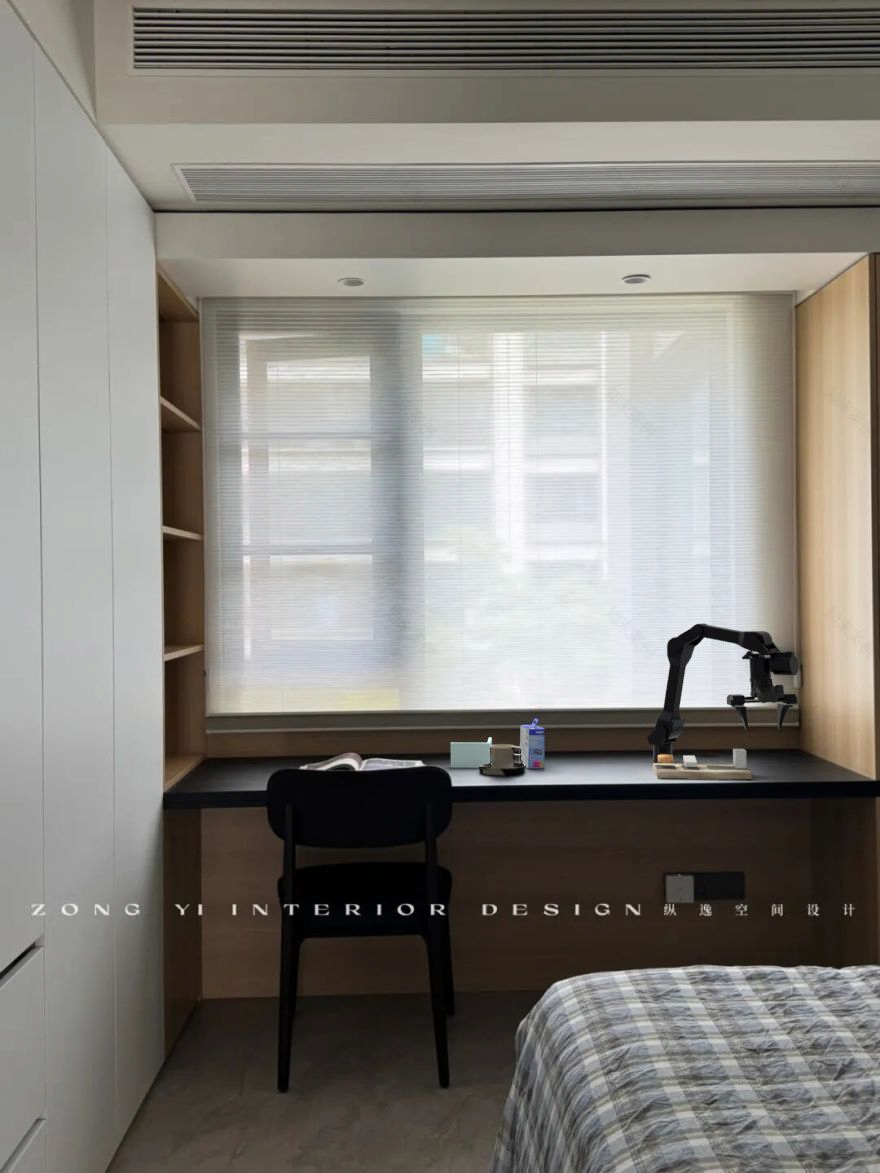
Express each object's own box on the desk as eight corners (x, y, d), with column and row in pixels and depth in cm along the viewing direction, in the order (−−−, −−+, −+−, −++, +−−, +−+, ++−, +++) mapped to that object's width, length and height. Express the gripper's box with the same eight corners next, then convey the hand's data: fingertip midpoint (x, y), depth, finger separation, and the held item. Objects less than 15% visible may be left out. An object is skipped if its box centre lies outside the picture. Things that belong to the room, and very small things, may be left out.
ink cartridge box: (545, 768, 294) (545, 720, 294) (528, 769, 293) (527, 721, 293) (536, 763, 304) (535, 716, 304) (519, 764, 303) (518, 717, 303)
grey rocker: (683, 760, 286) (683, 755, 285) (694, 760, 285) (694, 755, 285) (685, 766, 280) (685, 762, 280) (697, 766, 280) (697, 762, 279)
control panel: (652, 769, 291) (652, 762, 291) (742, 770, 288) (742, 763, 288) (657, 778, 277) (657, 770, 277) (751, 780, 274) (751, 772, 274)
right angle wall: (491, 761, 308) (491, 737, 308) (490, 767, 296) (489, 743, 296) (454, 760, 309) (454, 737, 309) (450, 767, 298) (450, 742, 298)
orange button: (657, 760, 286) (657, 754, 286) (672, 760, 285) (672, 754, 285) (658, 763, 282) (658, 756, 282) (674, 763, 281) (674, 757, 281)
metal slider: (733, 765, 283) (733, 748, 283) (743, 766, 283) (743, 748, 283) (735, 768, 279) (735, 751, 279) (746, 768, 279) (746, 751, 279)
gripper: (734, 677, 272) (737, 733, 271) (802, 675, 271) (805, 731, 270) (725, 675, 283) (727, 729, 282) (790, 673, 282) (793, 727, 281)
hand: (763, 729), depth 279 cm, fingers open, 9 cm apart
